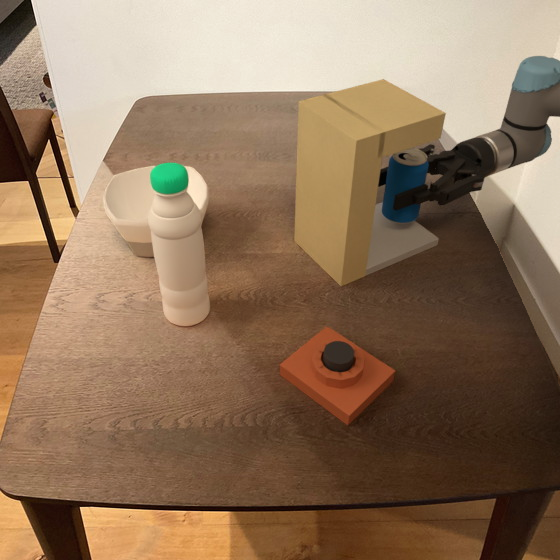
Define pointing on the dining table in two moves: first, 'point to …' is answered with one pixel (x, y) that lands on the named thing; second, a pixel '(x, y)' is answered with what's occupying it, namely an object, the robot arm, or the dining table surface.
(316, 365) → the brew pad
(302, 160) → the coffee maker
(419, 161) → the beverage can
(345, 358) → the button
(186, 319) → the water bottle
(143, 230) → the bowl
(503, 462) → the dining table surface
